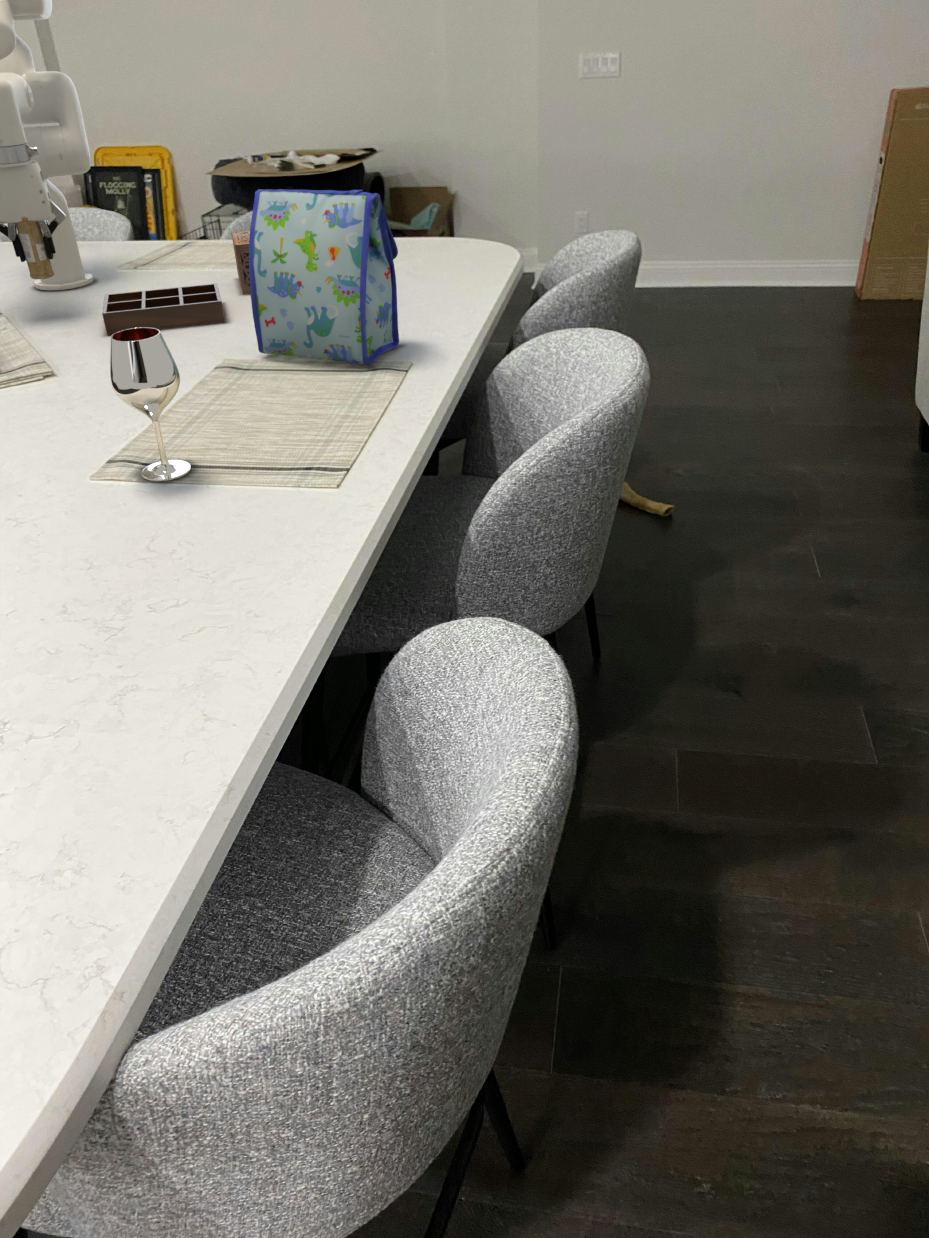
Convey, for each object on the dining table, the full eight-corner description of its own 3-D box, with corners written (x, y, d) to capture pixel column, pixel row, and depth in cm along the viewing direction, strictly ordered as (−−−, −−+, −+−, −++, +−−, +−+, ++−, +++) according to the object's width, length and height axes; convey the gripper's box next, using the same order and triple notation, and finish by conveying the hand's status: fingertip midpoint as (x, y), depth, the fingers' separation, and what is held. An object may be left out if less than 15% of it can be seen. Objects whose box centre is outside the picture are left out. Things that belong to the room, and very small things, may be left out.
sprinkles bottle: (57, 277, 181) (37, 203, 174) (33, 281, 179) (11, 207, 172) (51, 272, 185) (31, 200, 177) (27, 276, 183) (6, 203, 175)
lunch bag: (408, 340, 166) (398, 182, 151) (371, 370, 153) (355, 200, 138) (298, 333, 172) (278, 179, 158) (253, 361, 159) (226, 197, 145)
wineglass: (141, 460, 125) (109, 326, 115) (202, 456, 125) (175, 323, 116) (128, 486, 118) (92, 346, 108) (193, 482, 119) (163, 342, 109)
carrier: (110, 315, 187) (105, 294, 185) (220, 303, 192) (217, 283, 189) (107, 335, 175) (102, 313, 173) (225, 322, 180) (221, 301, 177)
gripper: (58, 149, 174) (83, 250, 185) (-38, 155, 171) (-7, 258, 181) (55, 155, 168) (81, 259, 179) (-45, 162, 165) (-12, 268, 175)
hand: (37, 258), depth 180 cm, fingers closed on sprinkles bottle, 4 cm apart
